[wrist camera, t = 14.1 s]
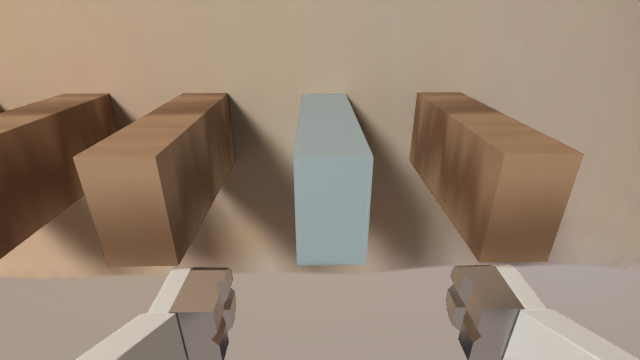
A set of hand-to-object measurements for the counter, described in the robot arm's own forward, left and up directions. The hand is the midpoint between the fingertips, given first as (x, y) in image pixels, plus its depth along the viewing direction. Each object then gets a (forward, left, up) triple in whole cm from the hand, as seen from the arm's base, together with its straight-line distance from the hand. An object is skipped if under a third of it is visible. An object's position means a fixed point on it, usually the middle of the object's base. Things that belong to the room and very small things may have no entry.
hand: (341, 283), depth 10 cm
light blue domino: (0, 0, -17) cm, 17 cm away
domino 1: (0, -16, -17) cm, 23 cm away
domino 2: (0, -8, -17) cm, 18 cm away
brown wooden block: (0, +8, -17) cm, 18 cm away
